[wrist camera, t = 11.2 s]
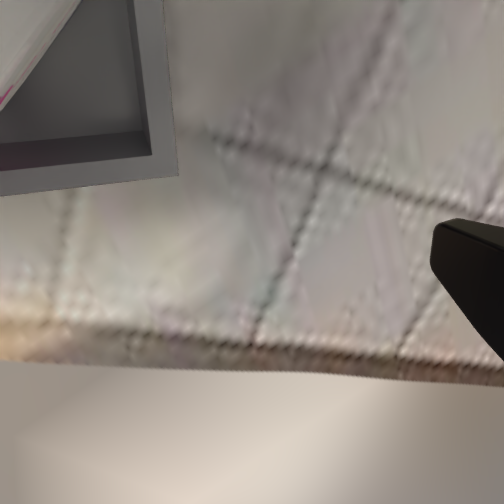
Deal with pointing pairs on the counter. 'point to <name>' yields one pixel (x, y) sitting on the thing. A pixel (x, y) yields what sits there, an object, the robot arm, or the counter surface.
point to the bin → (93, 104)
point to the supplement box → (27, 37)
